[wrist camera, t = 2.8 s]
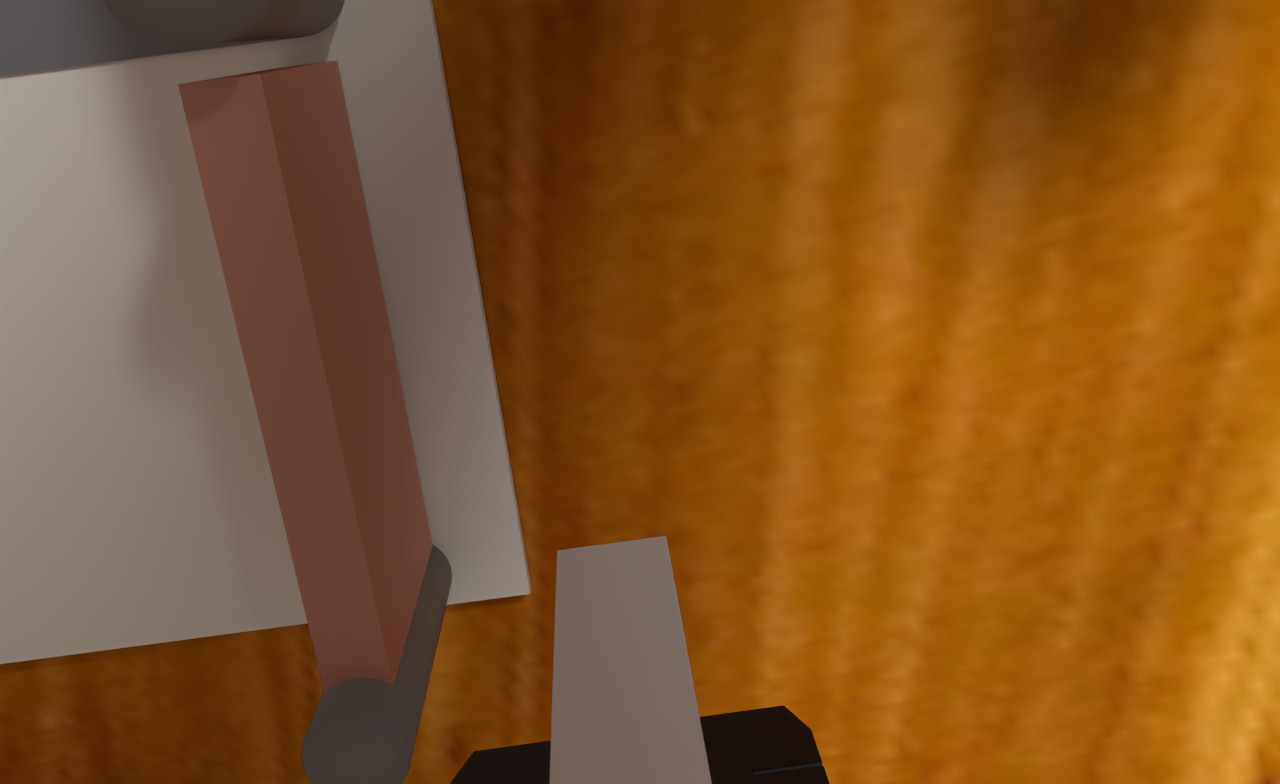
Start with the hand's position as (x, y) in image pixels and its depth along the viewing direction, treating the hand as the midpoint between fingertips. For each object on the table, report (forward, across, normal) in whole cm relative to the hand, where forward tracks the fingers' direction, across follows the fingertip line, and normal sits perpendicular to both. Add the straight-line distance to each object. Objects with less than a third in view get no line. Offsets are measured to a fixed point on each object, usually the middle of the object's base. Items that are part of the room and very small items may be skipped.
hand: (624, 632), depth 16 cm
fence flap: (+9, -5, +2) cm, 11 cm away
